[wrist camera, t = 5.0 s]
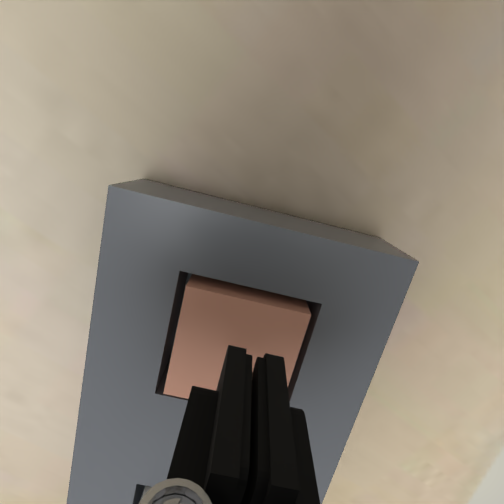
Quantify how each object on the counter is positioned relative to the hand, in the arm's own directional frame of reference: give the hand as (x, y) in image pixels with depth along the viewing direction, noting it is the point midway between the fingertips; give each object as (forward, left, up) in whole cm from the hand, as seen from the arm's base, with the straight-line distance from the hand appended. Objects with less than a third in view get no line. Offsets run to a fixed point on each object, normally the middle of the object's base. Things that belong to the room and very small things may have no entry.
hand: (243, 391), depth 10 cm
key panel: (+7, 0, -8) cm, 10 cm away
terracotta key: (+1, 0, -7) cm, 7 cm away
